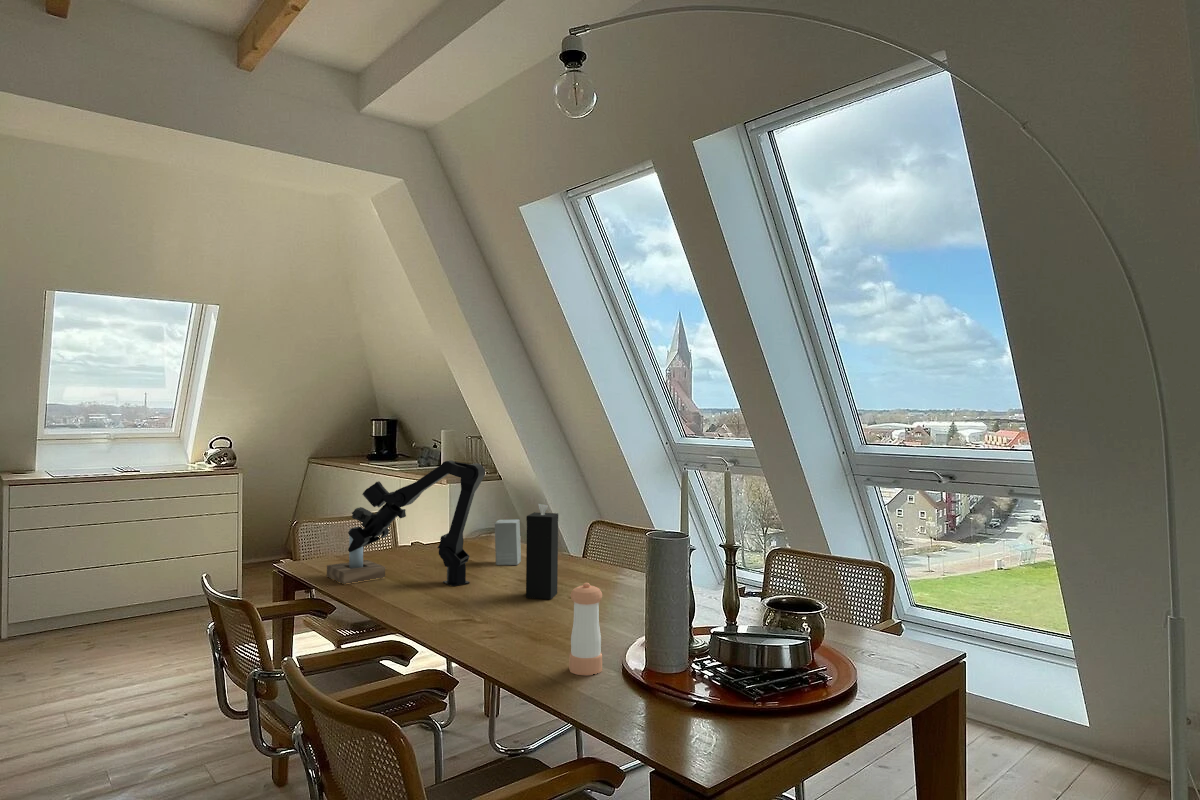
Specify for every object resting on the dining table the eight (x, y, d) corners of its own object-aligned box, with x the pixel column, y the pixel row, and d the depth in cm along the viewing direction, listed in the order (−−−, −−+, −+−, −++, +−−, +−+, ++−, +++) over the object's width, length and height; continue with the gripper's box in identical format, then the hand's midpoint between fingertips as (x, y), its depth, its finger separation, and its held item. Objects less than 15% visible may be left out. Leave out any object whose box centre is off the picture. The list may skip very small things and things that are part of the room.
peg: (365, 570, 258) (366, 528, 258) (357, 573, 254) (358, 530, 254) (354, 569, 259) (354, 527, 259) (346, 572, 255) (346, 529, 255)
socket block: (385, 578, 256) (385, 566, 256) (343, 585, 246) (343, 572, 246) (366, 571, 266) (367, 559, 266) (326, 577, 257) (326, 565, 257)
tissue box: (550, 600, 231) (551, 506, 231) (525, 598, 232) (526, 505, 232) (557, 593, 239) (558, 502, 239) (532, 592, 240) (533, 501, 240)
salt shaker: (562, 671, 170) (563, 583, 170) (581, 662, 176) (582, 577, 176) (589, 678, 166) (590, 588, 166) (608, 668, 172) (609, 582, 172)
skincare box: (521, 562, 284) (521, 519, 284) (517, 566, 277) (517, 522, 277) (498, 561, 285) (498, 518, 285) (493, 565, 278) (494, 521, 278)
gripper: (380, 496, 265) (350, 527, 267) (354, 503, 247) (321, 536, 248) (402, 520, 263) (371, 551, 265) (377, 528, 245) (344, 562, 247)
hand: (352, 549), depth 257 cm, fingers closed on peg, 4 cm apart
